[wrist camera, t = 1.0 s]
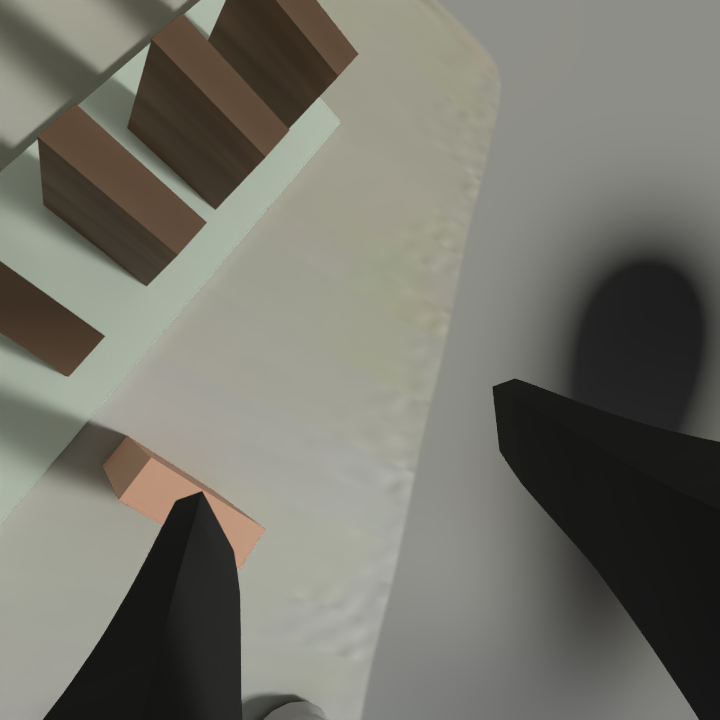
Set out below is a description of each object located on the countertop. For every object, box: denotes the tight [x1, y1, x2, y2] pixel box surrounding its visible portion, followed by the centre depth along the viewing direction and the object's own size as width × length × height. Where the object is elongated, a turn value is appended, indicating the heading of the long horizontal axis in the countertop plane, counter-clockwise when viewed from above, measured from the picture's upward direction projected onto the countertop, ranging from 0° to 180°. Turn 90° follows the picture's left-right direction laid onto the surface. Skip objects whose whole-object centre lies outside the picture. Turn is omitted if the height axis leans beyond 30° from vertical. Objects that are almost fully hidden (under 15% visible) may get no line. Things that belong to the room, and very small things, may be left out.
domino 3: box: [127, 13, 290, 210], centre depth 18 cm, size 1×4×6 cm, turn 52°
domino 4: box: [208, 0, 358, 129], centre depth 19 cm, size 1×4×6 cm, turn 52°
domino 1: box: [0, 261, 105, 377], centre depth 15 cm, size 1×4×6 cm, turn 52°
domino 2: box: [37, 104, 207, 286], centre depth 16 cm, size 1×4×6 cm, turn 51°
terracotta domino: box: [103, 436, 265, 569], centre depth 17 cm, size 1×4×6 cm, turn 52°
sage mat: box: [0, 0, 341, 524], centre depth 19 cm, size 24×8×1 cm, turn 142°
